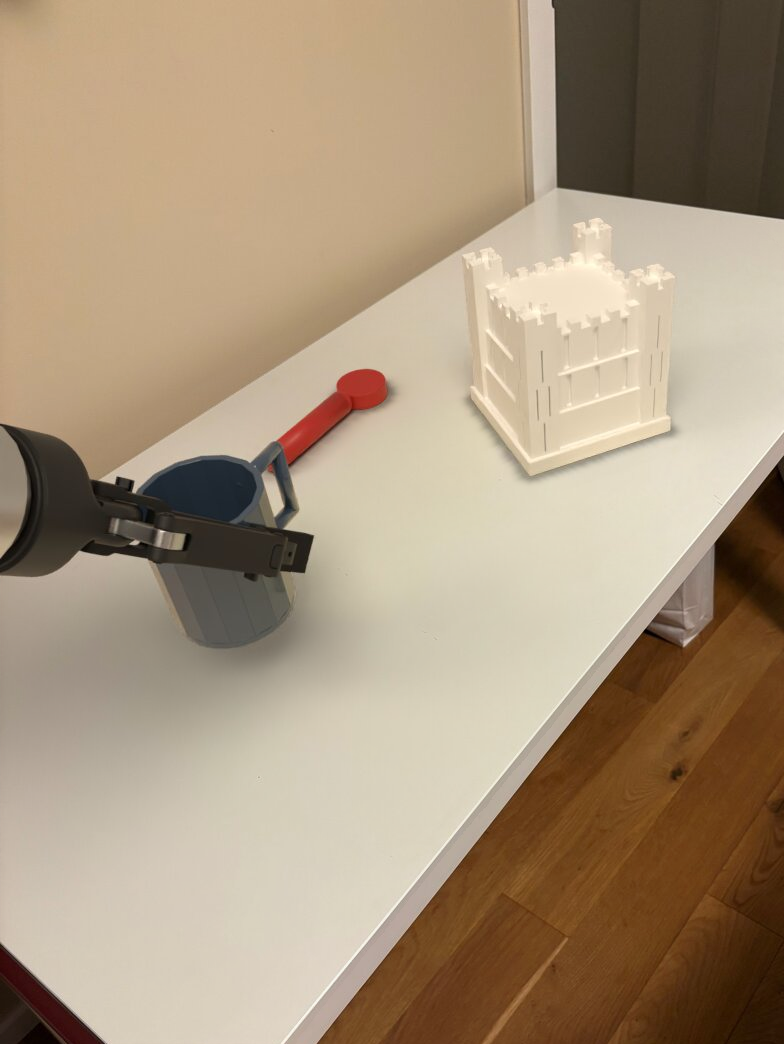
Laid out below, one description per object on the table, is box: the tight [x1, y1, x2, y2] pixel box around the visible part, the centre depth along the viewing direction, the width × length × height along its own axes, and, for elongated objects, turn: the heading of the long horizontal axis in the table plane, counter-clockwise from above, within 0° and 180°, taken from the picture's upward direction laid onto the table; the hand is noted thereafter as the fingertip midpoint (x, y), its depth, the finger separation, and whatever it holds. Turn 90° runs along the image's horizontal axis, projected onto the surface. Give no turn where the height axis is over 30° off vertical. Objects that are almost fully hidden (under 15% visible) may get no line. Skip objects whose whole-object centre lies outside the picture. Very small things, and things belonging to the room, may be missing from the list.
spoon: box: [267, 368, 388, 473], centre depth 93 cm, size 17×5×2 cm, turn 147°
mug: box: [133, 440, 300, 650], centre depth 66 cm, size 13×9×10 cm, turn 153°
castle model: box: [461, 217, 676, 477], centre depth 86 cm, size 14×14×15 cm
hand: (250, 536), depth 67 cm, fingers closed on mug, 9 cm apart
